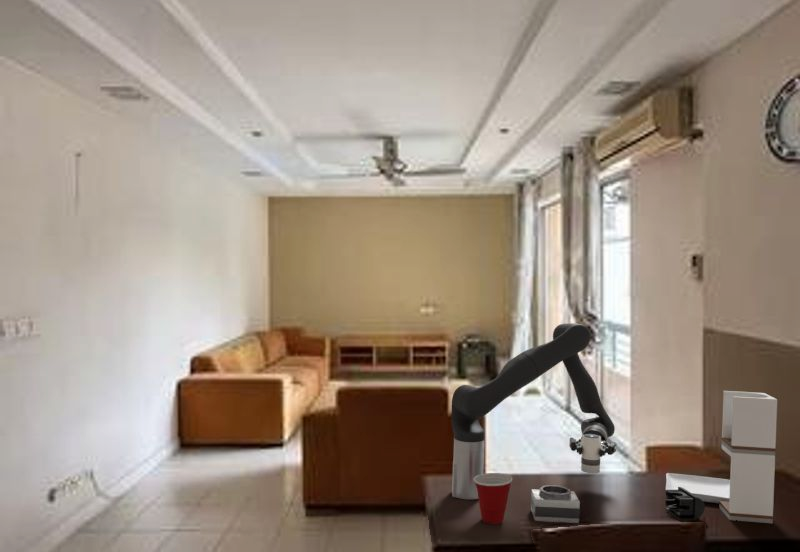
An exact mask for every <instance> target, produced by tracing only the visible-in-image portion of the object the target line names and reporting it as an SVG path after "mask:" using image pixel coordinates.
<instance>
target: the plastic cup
mask: <svg viewBox="0 0 800 552" xmlns="http://www.w3.org/2000/svg"><path fill="white" fill-rule="evenodd" d="M513 479H514V478H513V477H512V476H511V475H509V474H507V473H501V472H489V473H483V474H481V475H477V476H475V477H474V479H473V481H474V482H475V484H476V487H477V491H478V498H479V499H478V504H479V509H480V517H481V520H482V522H483V523H487V524H490V525H498V524H501V523H503V521H504V518H505V513H506V509H507V504H508V498H509V493H510V489H511V484H512V482H513Z"/></svg>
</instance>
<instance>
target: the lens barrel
mask: <svg viewBox="0 0 800 552" xmlns="http://www.w3.org/2000/svg"><path fill="white" fill-rule="evenodd" d="M581 437H582V454H581V459H580V462H581V466H580V471H581V472H583V473H586V474H599V473H600V472H601V467H600V466H601V457H600V447H601V437H600V436H598V435H594V434H584V435H581Z"/></svg>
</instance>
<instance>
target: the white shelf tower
mask: <svg viewBox="0 0 800 552" xmlns="http://www.w3.org/2000/svg"><path fill="white" fill-rule="evenodd" d="M722 396H723V397H722V399H723V400H722V419H721V421H722V422H721V423H722V427H721V449H722V450H723V451H724V452H725V453H726V454H727V455H728V456H729V457H730V477H729V480H730V497H729V502H727V501H719V503H718V505H719V507H718V508H719V510H720V511H721V512H722V513H723V514H724V515H725V517H726V518H727V519H728V520H729V521H736V520H737V522H738V521H739V522H751V523H760V524H761V523H762V524H764V523H765V524H773V523H774V522H773V521H774V495H775V494H774V493H775V467H776V444H777V419H778V418H777V417H778V416H777V415H778V399H777V398H775V397H773V396H771V395H770V394H767V393H765V392H754V391H753V392H752V391H750V392H749V391H736V390H734V391H733V390H723V395H722Z"/></svg>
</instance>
